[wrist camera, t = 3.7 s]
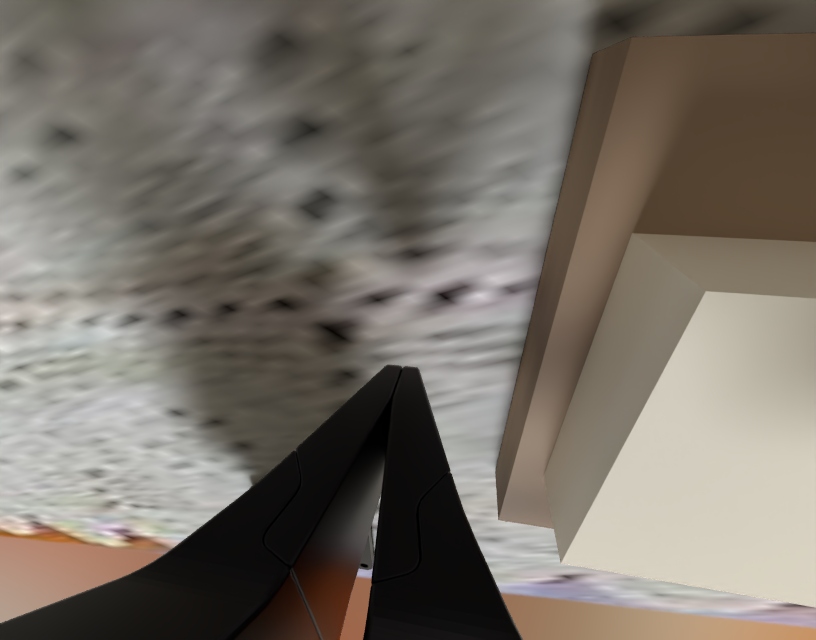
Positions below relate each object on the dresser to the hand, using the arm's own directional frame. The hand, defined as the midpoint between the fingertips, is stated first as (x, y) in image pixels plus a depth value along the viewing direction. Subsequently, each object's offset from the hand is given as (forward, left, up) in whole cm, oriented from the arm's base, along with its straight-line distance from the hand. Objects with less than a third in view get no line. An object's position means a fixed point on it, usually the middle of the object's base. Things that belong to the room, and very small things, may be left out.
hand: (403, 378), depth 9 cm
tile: (0, -7, 0) cm, 8 cm away
